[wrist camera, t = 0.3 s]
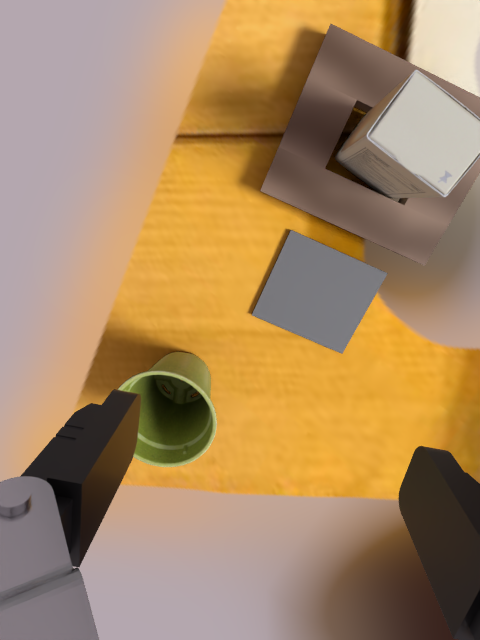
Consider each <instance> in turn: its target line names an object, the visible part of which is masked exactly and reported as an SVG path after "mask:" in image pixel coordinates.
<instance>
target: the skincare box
mask: <svg viewBox="0 0 480 640" xmlns="http://www.w3.org/2000/svg"><path fill="white" fill-rule="evenodd" d="M479 157H480V118H479V117H478V116H477V115H476V114H474V112H472V111H471V110H470V109H468V108H467V107H466V106H465V105H463V104H462V103H461V102H460V101H458V100H457V99H456V98H455V97H453V96H452V95H451V94H449V93H448V92H447V91H445V90H444V89H443V88H442V87H440V86H439V85H438V84H436V83H435V82H433V81H432V80H431V79H429V78H428V77H427V76H425V75H424V74H422V73H421V72H420V71H418V70H414V71H413V72H412V73H411V74H410V75H409V76H408V77H407V78H405V79H404V80H403V81H402V82H401V83H400V84H399V85H398V86H397V87H395V88H394V89H393V90H392V91H391V92H390V93H389V94H388V95H386V96H385V97H384V98H383V99H382V100H381V101H380V102H379V103H378V104H376V105H375V106H374V107H373V108H372V109H371V110H370V111H369V112H368V113H366V114H365V115H364V116H363V118H362V119H361V120H360V122H359V123H358V124H357V126H356V127H355V129H354V130H353V131H352V133H351V134H350V135H349V137H348V138H347V139H346V141H345V142H344V144H343V145H342V147H341V148H340V149H339V151H338V152H337V154H336V155H335V160H336V161H337V162H339V163H340V164H341V165H342V166H344V167H345V168H346V169H347V170H349V171H350V172H351V173H352V174H354V175H355V176H356V177H358V178H359V179H360V180H362V181H363V182H365V183H366V184H367V185H369V186H370V187H371V188H373V189H374V190H376V191H377V192H379V193H380V194H382V195H383V196H385V197H387V198H429V197H446V196H447V195H448V194H449V193H450V192H451V190H452V189H453V188H454V187H455V186H456V185H457V184H458V182H459V181H460V180H461V179H462V178H463V176H464V175H465V174H466V173H467V172H468V170H469V169H470V168H471V167H472V166H473V164H474V163H475V162H476V161H477V160H478V158H479Z"/></svg>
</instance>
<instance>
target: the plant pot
mask: <svg viewBox="0 0 480 640" xmlns="http://www.w3.org/2000/svg"><path fill="white" fill-rule="evenodd" d="M180 379H181V380H183V381H180ZM162 385H164V386H165V387H166V389H167V390H168V391H169V392H170V393H171V394H168V393H167V392H166V391H165V390H164V389H163V388H162ZM118 390H121V391H126V392H132V393H137V394H140V395H141V407H140V417H139V428H138V438H137V445H136V449H135V453H134V456H133V457H135V458H136V459H138V460H140V461H142V462H144V463H147V464H150V465H154V466H159V467H176V466H181V465H185V464H188V463H190V462H192V461H194V460H196V459H197V458H199V457H200V456H201V455H203V454H204V453H205V452H206V451H207V449H208V448H209V446H210V445H211V443H212V441H213V439H214V436H215V433H216V426H217V419H216V412H215V409H214V406H213V404H212V401H211V400H210V391H211V377H210V372H209V370H208V367H207V366H206V364H205V363H204V362H203V361H202V360H201V359H200V358H199V357H197V356H196V355H194V354H190V353H184V352H173V353H170V354H167V355H166V356H164V357H163V358H162V359H160V360H159V361H158V362H157V363H156V364H155V365H154V366H153V367H152V368H150V369H149V370H148V371H146V372H142V373H139V374H137V375H135V376H133V377H131V378H129V379H128V380H127V381H125V382H124V383H123V384H122V385H121V386H120V387H119V389H118ZM197 391H198V392H199V394H198V395H197V396H195V397H191V395H192V394H194V393H196V392H197Z"/></svg>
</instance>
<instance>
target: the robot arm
mask: <svg viewBox="0 0 480 640" xmlns="http://www.w3.org/2000/svg"><path fill="white" fill-rule="evenodd" d="M140 407H141V395H140V394H137V393H132V392H126V391H121V390H116V389H115V390H113V391H112V392H111V393H110V395H109V396H108V397H107V399H106V400H105V401H104V403H103V404H102V405H98V404H92V403H91V404H89V405H87V406H85V407H84V408H82V409H80V410H78V411H76V412H75V413H74V414H73V415H72V416H71V418H70V419H69V420H68V421H67V422H66V424H65V426H64V427H62V428H61V429H60V431H59V432H58V433H57V434H56V437H54V438H53V439H52V440H51V441H50V442H49V444H48V445H47V446H46V447H45V448H44V450H43V451H42V452H41V453H40V454H39V455H38V456H37V458H36V459H35V460H34V461H33V462H32V463H31V465H30V466H29V467H28V468H27V469H26V470H25V472H24V473H23V474H22V475H21V476H20V477H15V478H11V479H7V480H4V481H2V482H0V640H99V637H98V634H97V630H96V626H95V622H94V619H93V615H92V611H91V607H90V603H89V600H88V596H87V592H86V588H85V585H84V581H83V578H82V575H81V572H80V570H79V569H78V568H75V569H73V566H76V567H80V565H81V563H82V560H83V558H84V556H85V554H86V552H87V550H88V548H89V546H90V544H91V542H92V540H93V538H94V536H95V534H96V532H97V530H98V528H99V526H100V524H101V522H102V520H103V518H104V516H105V514H106V512H107V510H108V508H109V505H110V503H111V502H112V499H113V498H114V495H115V493H116V491H117V489H118V487H119V485H120V483H121V481H122V479H123V477H124V475H125V473H126V471H127V469H128V467H129V465H130V463H131V461H132V458H133V456H134V453H135V449H136V445H137V438H138V428H139V417H140ZM399 507H400V511H401V514H402V516H403V519H404V521H405V523H406V526H407V528H408V531H409V533H410V535H411V538H412V540H413V543H414V545H415V547H416V550H417V552H418V555H419V557H420V559H421V562H422V564H423V567H424V569H425V571H426V574H427V576H428V579H429V581H430V583H431V586H432V588H433V591H434V593H435V596H436V598H437V600H438V603H439V605H440V608H441V610H442V612H443V615H444V617H445V620H446V622H447V624H448V627H449V629H450V631H451V634H452V636H453V638H454V639H459V640H480V484H479V483H478V482H477V481H476V480H475V479H473V478H472V477H471V476H470V475H469V474H468V473H465V472H464V471H463V470H462V469H461V467H460V466H459V464H458V463H457V461H456V460H455V458H454V457H453V456H452V454H451V453H450V452H449V451H445V450H440V449H434V448H429V447H423V446H419V447H418V448H417V449H416V450H415V452H414V454H413V457H412V459H411V462H410V464H409V467H408V469H407V472H406V474H405V477H404V480H403V482H402V485H401V487H400V491H399Z"/></svg>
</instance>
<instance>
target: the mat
mask: <svg viewBox="0 0 480 640" xmlns="http://www.w3.org/2000/svg"><path fill="white" fill-rule="evenodd" d="M386 275H387V273H386V272H384V271H382V270H379V269H376V268H375V267H373V266H370V265H368V264H366V263H364V262H361V261H359V260H357V259H355V258H353V257H350V256H348V255H346V254H344V253H341V252H339V251H337V250H335V249H332V248H330V247H328V246H326V245H324V244H321V243H319V242H317V241H315V240H312V239H310V238H308V237H306V236H304V235H301V234H299V233H297V232H295V231H292V230H290V233H289V235H288V237H287V239H286V241H285V243H284V246H283V248H282V250H281V252H280V254H279V256H278V259H277V261H276V263H275V265H274V267H273V269H272V272H271V274H270V276H269V278H268V280H267V282H266V285H265V287H264V289H263V291H262V293H261V295H260V298H259V300H258V302H257V304H256V306H255V308H254V311H253V313H252V315H253V316H255V317H257V318H260V319H262V320H264V321H267V322H269V323H271V324H274V325H276V326H278V327H281V328H283V329H285V330H288V331H290V332H292V333H295V334H297V335H299V336H302V337H304V338H306V339H309V340H311V341H314V342H316V343H318V344H321V345H323V346H325V347H328V348H330V349H332V350H335V351H337V352H339V353H343V351H344V350H345V348H346V346H347V344H348V342H349V341H350V339H351V337H352V335H353V334H354V332H355V330H356V328H357V327H358V325H359V323H360V321H361V319H362V318H363V316H364V314H365V312H366V311H367V309H368V307H369V305H370V304H371V302H372V300H373V298H374V296H375V295H376V293H377V291H378V289H379V288H380V286H381V284H382V282H383V280H384V279H385V277H386Z"/></svg>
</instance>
